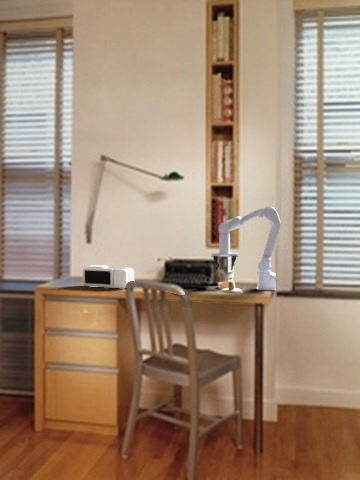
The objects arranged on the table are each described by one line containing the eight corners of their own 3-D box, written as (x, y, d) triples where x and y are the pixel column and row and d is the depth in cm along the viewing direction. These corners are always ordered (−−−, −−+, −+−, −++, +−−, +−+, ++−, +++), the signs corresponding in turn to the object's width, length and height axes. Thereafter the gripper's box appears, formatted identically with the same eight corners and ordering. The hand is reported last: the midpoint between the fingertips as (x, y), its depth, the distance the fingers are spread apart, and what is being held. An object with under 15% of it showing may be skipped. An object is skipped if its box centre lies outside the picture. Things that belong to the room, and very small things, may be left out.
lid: (240, 289, 281) (240, 280, 281) (241, 292, 271) (241, 283, 271) (221, 289, 282) (221, 280, 281) (222, 292, 272) (222, 283, 271)
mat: (241, 290, 282) (241, 289, 282) (242, 293, 271) (242, 292, 271) (220, 290, 282) (220, 289, 282) (221, 293, 271) (221, 292, 271)
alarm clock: (82, 287, 295) (82, 266, 294) (91, 285, 303) (91, 264, 303) (126, 290, 285) (126, 268, 284) (134, 287, 293) (134, 266, 293)
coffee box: (234, 284, 307) (234, 255, 306) (227, 285, 302) (227, 256, 301) (222, 282, 313) (222, 255, 312) (215, 283, 308) (215, 255, 307)
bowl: (234, 287, 293) (234, 281, 293) (235, 289, 284) (235, 284, 284) (217, 287, 293) (217, 281, 293) (218, 289, 284) (218, 284, 284)
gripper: (237, 244, 292) (237, 269, 292) (211, 244, 293) (211, 269, 293) (238, 245, 285) (238, 270, 285) (211, 245, 286) (211, 270, 286)
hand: (224, 270), depth 289 cm, fingers open, 7 cm apart
